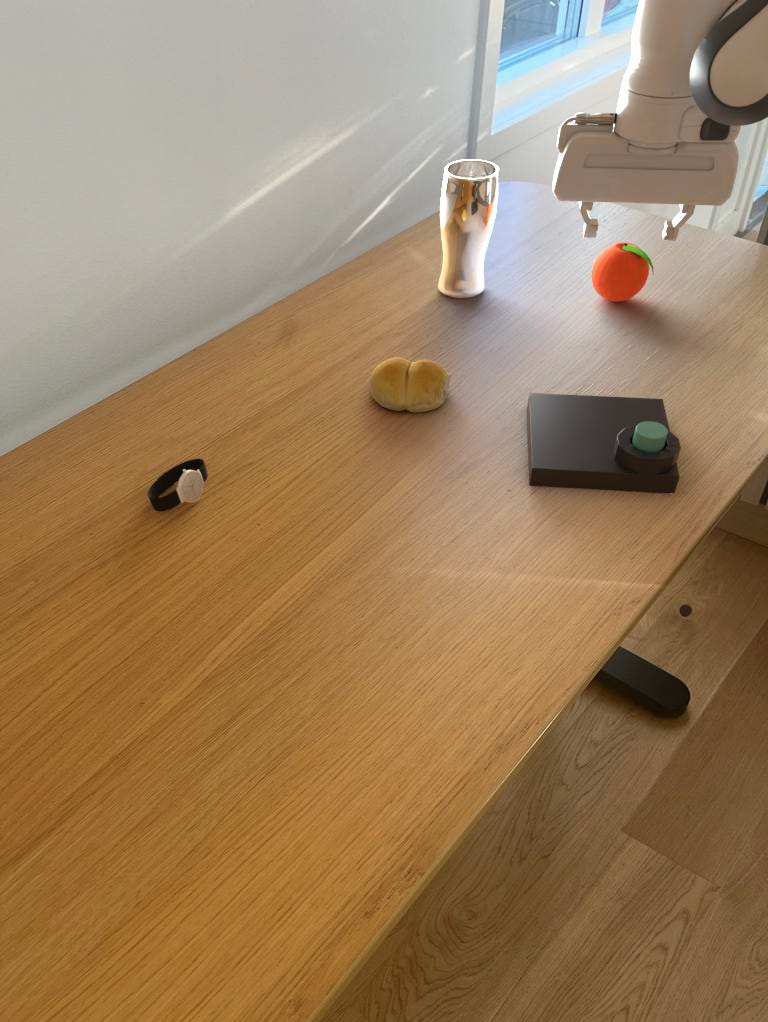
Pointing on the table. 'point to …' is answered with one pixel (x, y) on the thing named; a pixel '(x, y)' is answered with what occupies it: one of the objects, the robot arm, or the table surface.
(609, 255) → the clementine
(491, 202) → the beer glass
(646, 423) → the button
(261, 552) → the table surface
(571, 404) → the black push button box
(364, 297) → the table surface
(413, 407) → the bread roll
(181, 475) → the watch
